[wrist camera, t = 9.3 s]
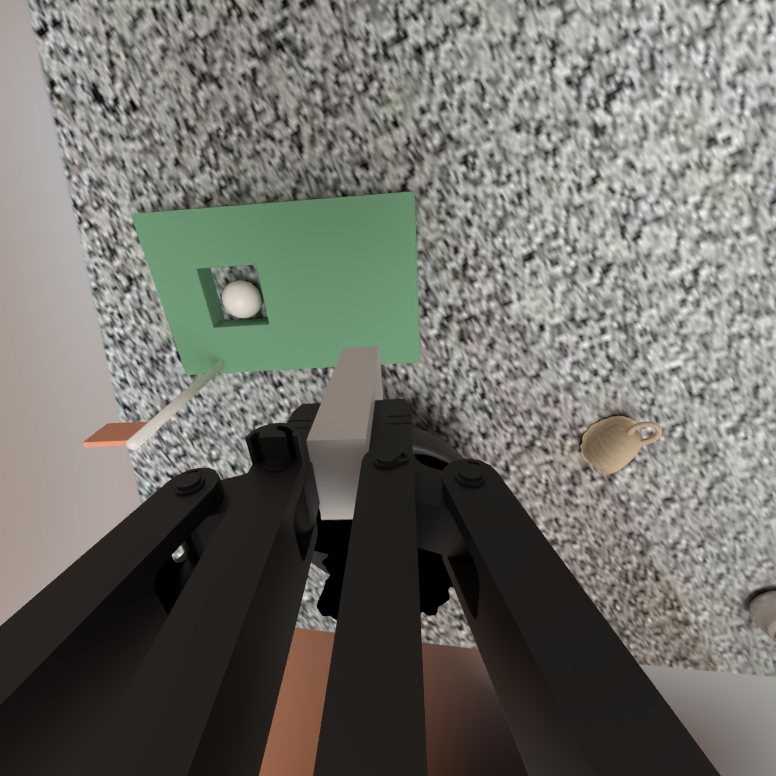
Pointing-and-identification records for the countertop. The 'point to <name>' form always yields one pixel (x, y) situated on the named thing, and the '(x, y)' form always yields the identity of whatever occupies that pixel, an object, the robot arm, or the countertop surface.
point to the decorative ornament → (614, 442)
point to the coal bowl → (430, 564)
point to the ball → (241, 299)
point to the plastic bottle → (765, 612)
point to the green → (282, 288)
